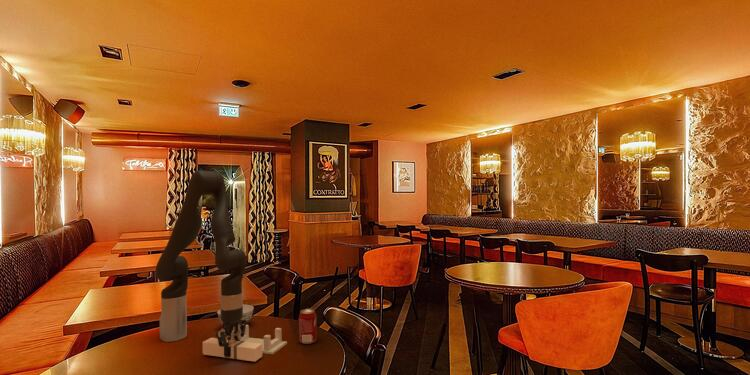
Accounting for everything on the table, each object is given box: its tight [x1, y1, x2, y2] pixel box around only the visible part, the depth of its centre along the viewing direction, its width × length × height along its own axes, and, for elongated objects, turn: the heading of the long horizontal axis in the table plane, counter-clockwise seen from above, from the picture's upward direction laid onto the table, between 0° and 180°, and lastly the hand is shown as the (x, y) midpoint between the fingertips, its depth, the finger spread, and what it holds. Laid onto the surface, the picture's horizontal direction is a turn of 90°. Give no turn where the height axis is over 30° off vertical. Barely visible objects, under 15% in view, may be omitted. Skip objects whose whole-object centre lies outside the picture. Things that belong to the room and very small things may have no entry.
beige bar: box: [202, 337, 263, 362], centre depth 135 cm, size 22×4×4 cm, turn 73°
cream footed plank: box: [232, 324, 288, 355], centre depth 145 cm, size 21×10×6 cm, turn 73°
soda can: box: [298, 308, 318, 345], centre depth 148 cm, size 7×7×12 cm
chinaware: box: [216, 304, 254, 324], centre depth 167 cm, size 15×15×8 cm
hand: (232, 353), depth 135 cm, fingers closed on beige bar, 4 cm apart
